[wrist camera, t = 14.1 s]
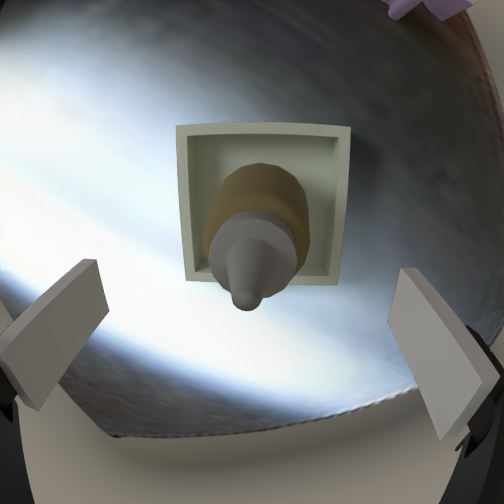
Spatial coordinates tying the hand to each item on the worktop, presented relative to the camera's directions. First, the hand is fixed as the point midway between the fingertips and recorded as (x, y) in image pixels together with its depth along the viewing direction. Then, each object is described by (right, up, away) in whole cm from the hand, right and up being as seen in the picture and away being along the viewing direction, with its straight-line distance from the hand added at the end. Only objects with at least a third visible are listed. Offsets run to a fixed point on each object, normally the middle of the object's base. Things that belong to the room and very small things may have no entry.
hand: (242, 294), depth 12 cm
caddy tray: (+1, +7, +17) cm, 19 cm away
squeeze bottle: (+1, +7, +17) cm, 18 cm away
